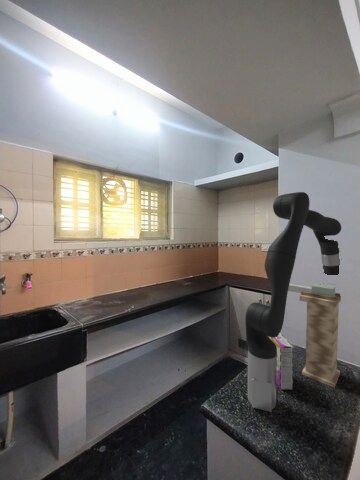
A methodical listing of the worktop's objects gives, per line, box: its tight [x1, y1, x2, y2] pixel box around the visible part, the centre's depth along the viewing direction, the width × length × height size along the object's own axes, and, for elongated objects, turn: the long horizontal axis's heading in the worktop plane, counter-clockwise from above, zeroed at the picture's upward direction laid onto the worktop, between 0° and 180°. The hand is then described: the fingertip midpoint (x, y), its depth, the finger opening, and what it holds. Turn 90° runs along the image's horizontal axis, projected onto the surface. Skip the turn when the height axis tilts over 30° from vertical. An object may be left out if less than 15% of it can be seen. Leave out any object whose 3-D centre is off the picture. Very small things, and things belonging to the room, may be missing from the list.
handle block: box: [288, 283, 336, 297], centre depth 92 cm, size 20×5×4 cm, turn 46°
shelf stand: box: [298, 291, 342, 389], centre depth 89 cm, size 12×11×33 cm
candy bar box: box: [268, 332, 294, 391], centre depth 86 cm, size 11×5×16 cm, turn 179°
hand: (336, 295), depth 104 cm, fingers open, 8 cm apart
